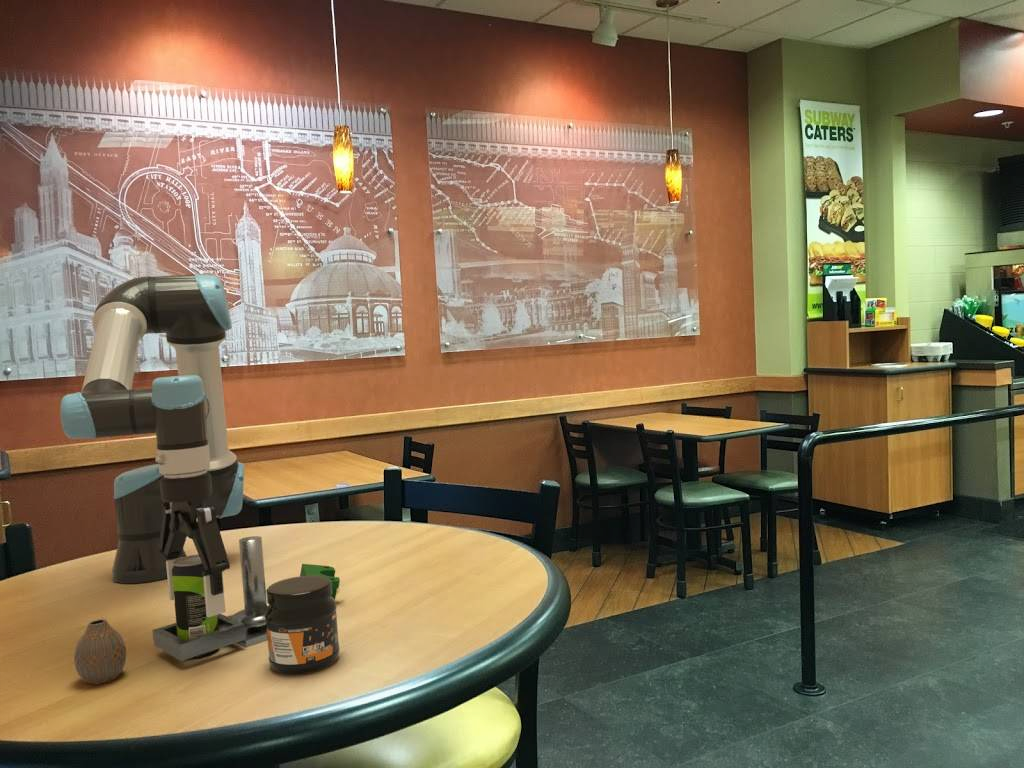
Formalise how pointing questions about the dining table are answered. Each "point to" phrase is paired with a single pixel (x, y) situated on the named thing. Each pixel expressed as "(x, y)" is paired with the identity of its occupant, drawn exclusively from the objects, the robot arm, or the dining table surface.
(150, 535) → the robot arm
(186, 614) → the beverage can
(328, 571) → the clamp
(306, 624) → the supplement container
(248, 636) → the frame with upright rod
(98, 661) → the vase
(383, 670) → the dining table surface
